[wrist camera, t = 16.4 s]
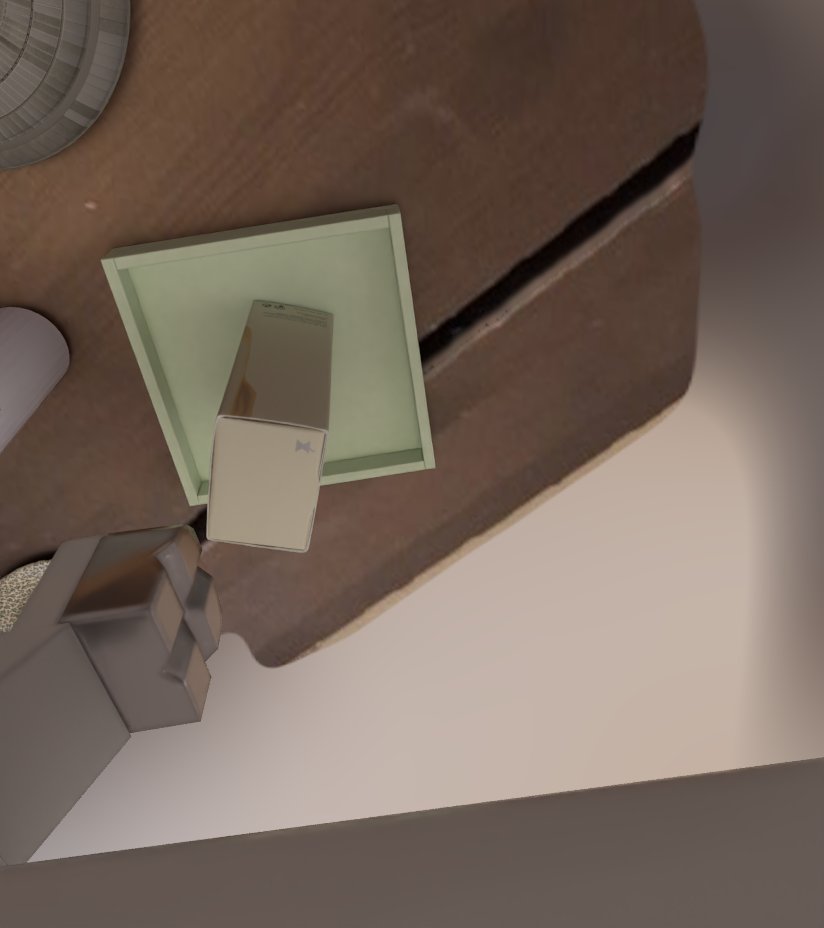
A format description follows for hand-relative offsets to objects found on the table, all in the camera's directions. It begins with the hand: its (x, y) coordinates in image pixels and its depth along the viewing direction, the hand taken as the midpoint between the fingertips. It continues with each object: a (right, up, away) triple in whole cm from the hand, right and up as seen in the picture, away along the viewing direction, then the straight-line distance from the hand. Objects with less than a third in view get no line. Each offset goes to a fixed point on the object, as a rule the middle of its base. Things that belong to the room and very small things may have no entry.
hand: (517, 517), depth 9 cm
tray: (-8, +6, +30) cm, 32 cm away
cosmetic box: (-8, +6, +30) cm, 31 cm away
